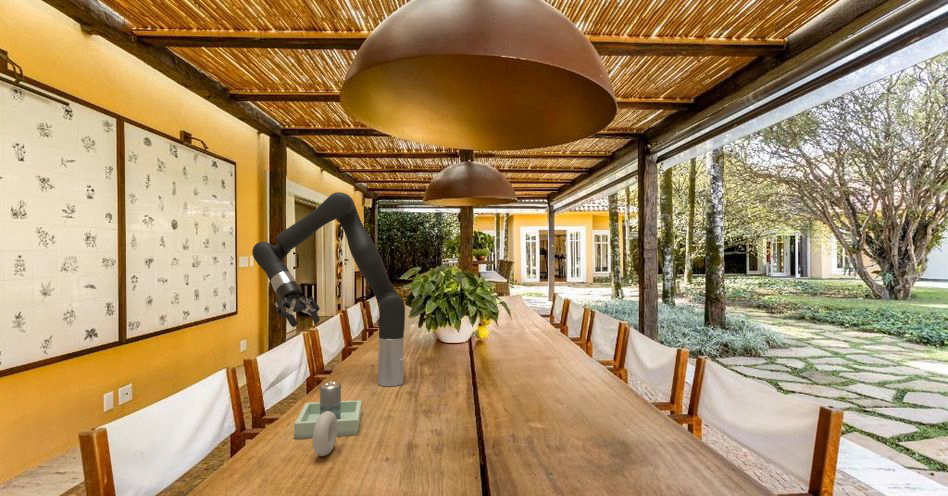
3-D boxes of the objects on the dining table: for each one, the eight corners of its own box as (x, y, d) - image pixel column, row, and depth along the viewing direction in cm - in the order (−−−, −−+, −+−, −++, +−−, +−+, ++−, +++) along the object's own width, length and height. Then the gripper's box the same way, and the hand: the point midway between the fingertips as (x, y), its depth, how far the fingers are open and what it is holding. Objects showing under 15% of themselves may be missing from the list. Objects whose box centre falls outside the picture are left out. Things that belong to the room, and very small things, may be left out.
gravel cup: (341, 416, 126) (342, 378, 126) (339, 424, 120) (339, 385, 120) (321, 417, 125) (322, 379, 125) (317, 425, 119) (318, 385, 119)
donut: (325, 444, 110) (326, 405, 110) (339, 445, 110) (340, 405, 110) (309, 463, 100) (310, 419, 100) (324, 464, 100) (325, 420, 100)
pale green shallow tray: (361, 413, 132) (361, 400, 132) (357, 435, 116) (358, 419, 116) (305, 416, 129) (305, 402, 129) (294, 439, 113) (294, 423, 113)
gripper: (272, 281, 143) (293, 319, 137) (308, 279, 156) (329, 314, 149) (262, 296, 146) (282, 334, 140) (299, 293, 158) (319, 328, 152)
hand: (306, 323), depth 145 cm, fingers open, 8 cm apart
